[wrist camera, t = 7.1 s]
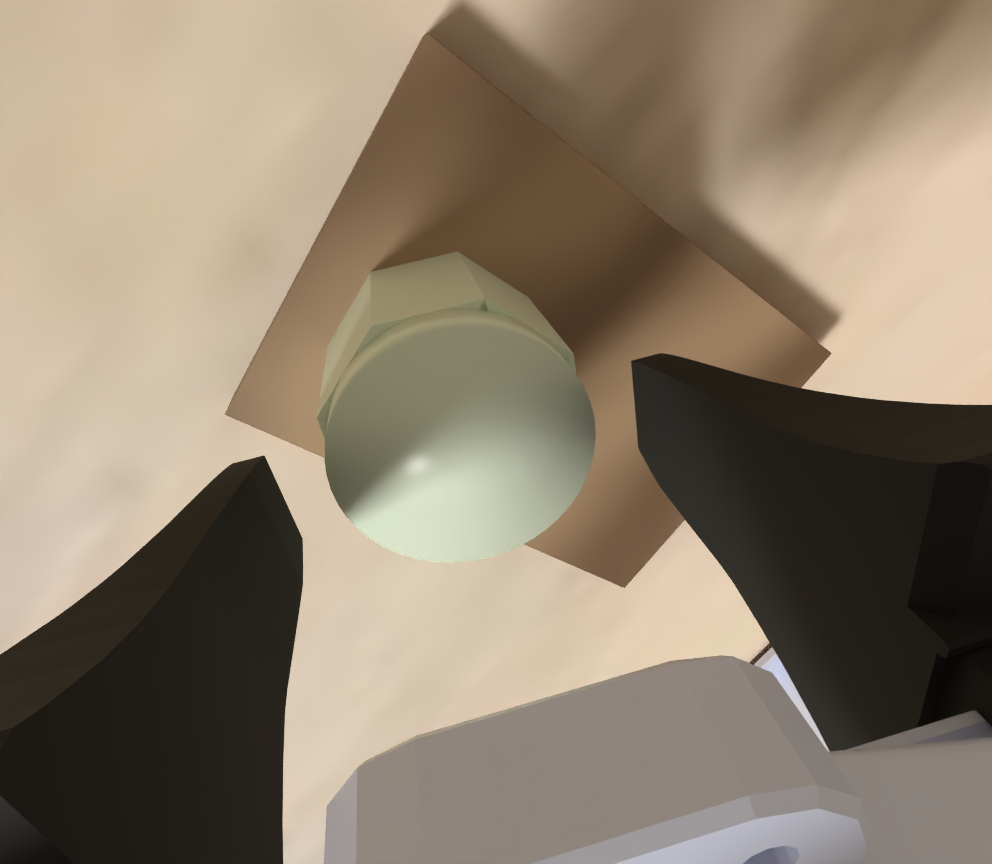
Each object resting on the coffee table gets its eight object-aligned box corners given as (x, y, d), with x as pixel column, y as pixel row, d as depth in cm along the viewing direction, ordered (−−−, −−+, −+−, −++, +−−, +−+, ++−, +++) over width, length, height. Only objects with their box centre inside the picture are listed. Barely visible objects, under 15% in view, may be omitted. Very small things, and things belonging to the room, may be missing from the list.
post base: (810, 341, 19) (908, 395, 16) (614, 568, 22) (660, 655, 19) (422, 36, 13) (441, 16, 10) (232, 397, 17) (197, 477, 13)
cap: (573, 326, 16) (647, 409, 12) (467, 473, 18) (499, 593, 14) (402, 215, 14) (418, 267, 10) (299, 393, 16) (274, 505, 11)
